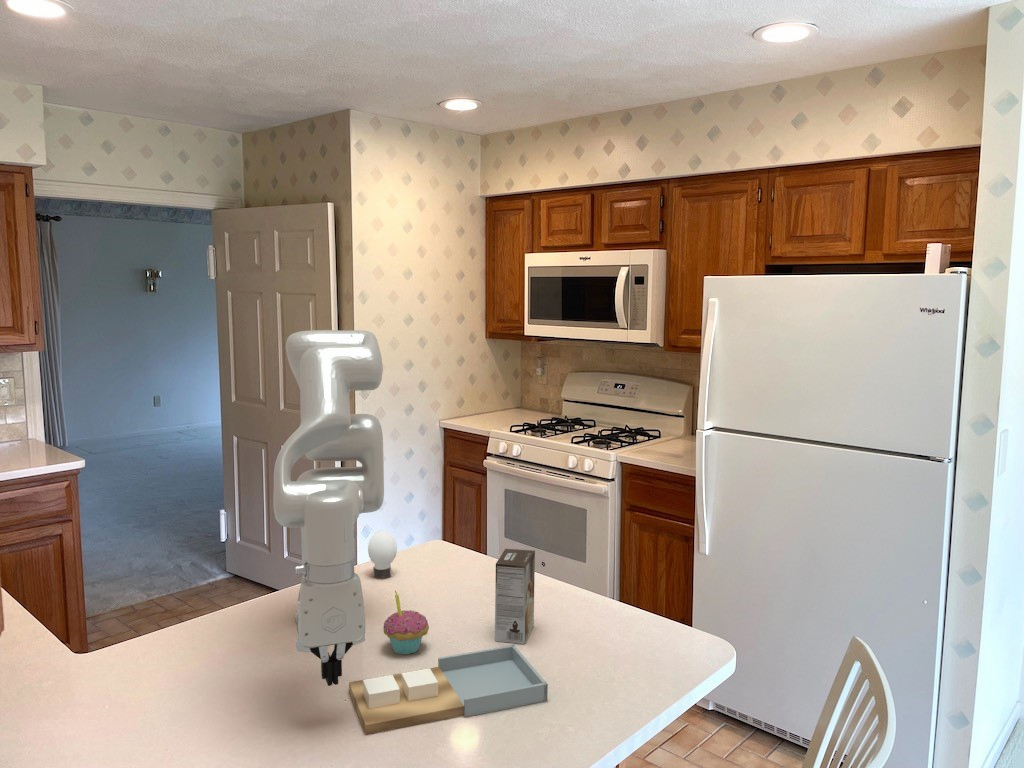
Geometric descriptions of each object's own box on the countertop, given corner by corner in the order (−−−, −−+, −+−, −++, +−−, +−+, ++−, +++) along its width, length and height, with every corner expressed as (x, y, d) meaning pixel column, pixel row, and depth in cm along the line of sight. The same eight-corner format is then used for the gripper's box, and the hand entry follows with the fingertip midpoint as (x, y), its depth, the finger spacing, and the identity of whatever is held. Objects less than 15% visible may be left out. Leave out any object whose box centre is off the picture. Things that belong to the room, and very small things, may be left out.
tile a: (363, 693, 132) (362, 679, 132) (392, 688, 134) (392, 674, 133) (369, 708, 127) (369, 694, 127) (399, 703, 129) (399, 689, 129)
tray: (438, 673, 142) (438, 657, 142) (513, 660, 148) (513, 644, 147) (464, 717, 128) (465, 699, 128) (547, 700, 134) (547, 684, 133)
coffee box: (503, 622, 164) (504, 547, 162) (534, 625, 163) (535, 549, 160) (493, 641, 155) (495, 562, 153) (526, 645, 154) (527, 565, 151)
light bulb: (364, 580, 185) (363, 534, 184) (373, 569, 192) (373, 525, 190) (391, 582, 184) (391, 536, 183) (400, 571, 191) (400, 527, 189)
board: (349, 691, 136) (349, 682, 135) (439, 675, 142) (439, 666, 141) (365, 734, 123) (365, 725, 123) (463, 715, 129) (463, 706, 128)
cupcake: (391, 662, 146) (391, 600, 144) (377, 643, 153) (376, 584, 152) (435, 653, 150) (435, 592, 148) (419, 635, 157) (419, 577, 156)
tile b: (401, 686, 134) (401, 673, 134) (429, 681, 136) (429, 668, 136) (408, 701, 130) (408, 687, 129) (438, 695, 131) (438, 682, 131)
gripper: (283, 583, 118) (285, 701, 120) (382, 572, 124) (383, 684, 126) (278, 567, 125) (280, 678, 127) (372, 557, 130) (373, 663, 132)
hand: (331, 681), depth 126 cm, fingers closed
